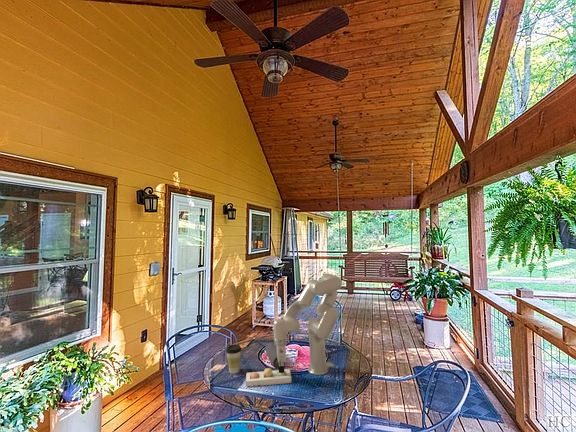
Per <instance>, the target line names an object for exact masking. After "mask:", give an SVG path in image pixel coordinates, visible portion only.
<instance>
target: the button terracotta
mask: <svg viewBox="0 0 576 432" xmlns="http://www.w3.org/2000/svg"><path fill="white" fill-rule="evenodd" d="M255 378H259V376H258V373H252V374H251V379H255Z"/></svg>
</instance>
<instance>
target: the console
mask: <svg viewBox="0 0 576 432" xmlns="http://www.w3.org/2000/svg"><path fill="white" fill-rule="evenodd" d="M284 371H285V372H286V376H278V372H279V369H276V370H272V376H270V377H265V372H264V370H263V371H262V370H261V371H252V372H250V371H249V372H246V376H245V387H246V386H250V387H252V386H251V385H255V386H256V387H258V386H257V385H261V386H268V385H269V386H270V385H278V384H280V385H281V384H291V383H292V374H291V370H290V368H288V369H287V368H284ZM252 373H258V376H259V378H255V379H251V374H252ZM255 386H254V387H255Z"/></svg>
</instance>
